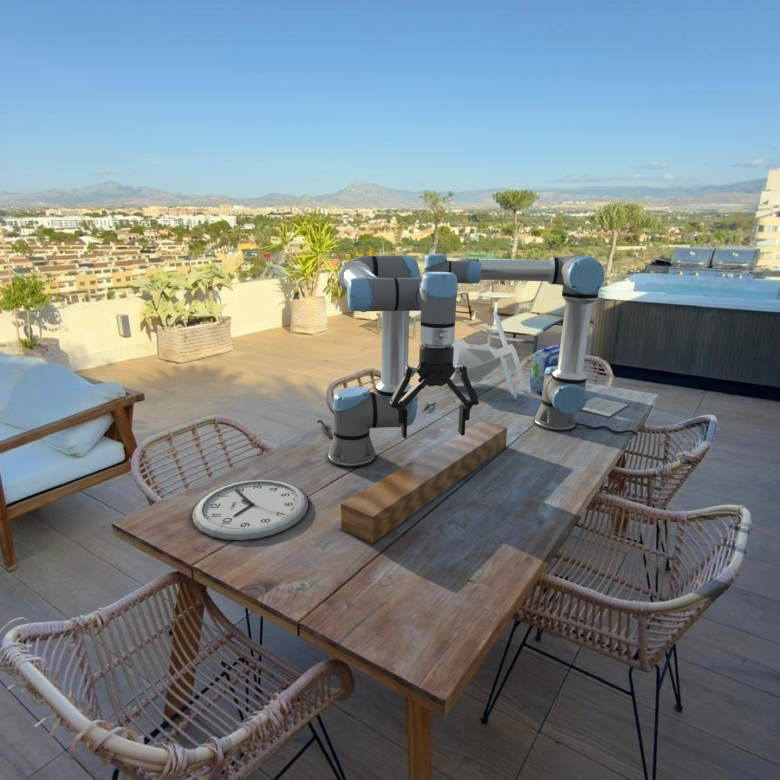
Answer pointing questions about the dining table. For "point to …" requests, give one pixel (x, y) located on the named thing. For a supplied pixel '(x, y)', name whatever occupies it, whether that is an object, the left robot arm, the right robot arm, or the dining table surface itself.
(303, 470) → the dining table surface
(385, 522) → the wide beam
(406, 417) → the left robot arm
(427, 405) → the fork
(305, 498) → the wall clock
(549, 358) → the lunch box
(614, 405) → the invitation card
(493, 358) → the white plastic object
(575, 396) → the right robot arm
